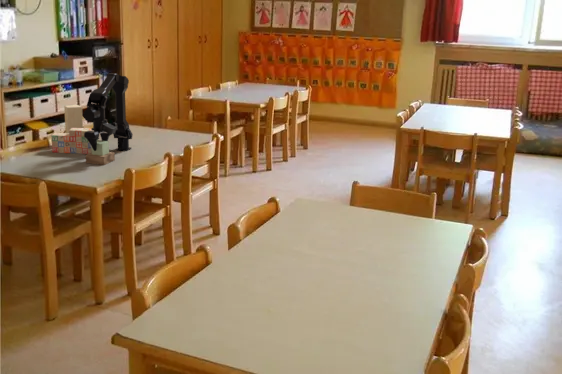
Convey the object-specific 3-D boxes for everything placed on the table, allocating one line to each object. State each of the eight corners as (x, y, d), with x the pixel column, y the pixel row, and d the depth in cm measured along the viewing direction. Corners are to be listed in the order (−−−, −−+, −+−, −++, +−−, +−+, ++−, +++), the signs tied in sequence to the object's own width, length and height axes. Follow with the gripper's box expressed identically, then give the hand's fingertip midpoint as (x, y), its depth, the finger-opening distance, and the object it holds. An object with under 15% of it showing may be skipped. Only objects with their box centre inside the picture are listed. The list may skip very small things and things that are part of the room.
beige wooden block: (80, 142, 336) (78, 104, 330) (83, 144, 330) (82, 107, 324) (65, 143, 332) (63, 105, 326) (68, 146, 326) (66, 107, 320)
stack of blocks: (52, 152, 312) (50, 129, 308) (55, 149, 318) (54, 126, 314) (94, 154, 314) (93, 131, 310) (96, 151, 320) (96, 128, 316)
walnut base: (96, 158, 306) (96, 150, 305) (114, 160, 304) (114, 152, 303) (86, 162, 297) (85, 154, 296) (104, 165, 294) (104, 157, 293)
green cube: (98, 151, 303) (97, 140, 301) (109, 153, 301) (108, 141, 299) (91, 154, 297) (91, 142, 295) (102, 155, 296) (102, 143, 294)
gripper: (103, 122, 283) (105, 154, 288) (123, 116, 301) (124, 146, 305) (82, 120, 286) (84, 152, 290) (103, 114, 303) (104, 144, 308)
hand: (100, 148), depth 298 cm, fingers open, 9 cm apart
